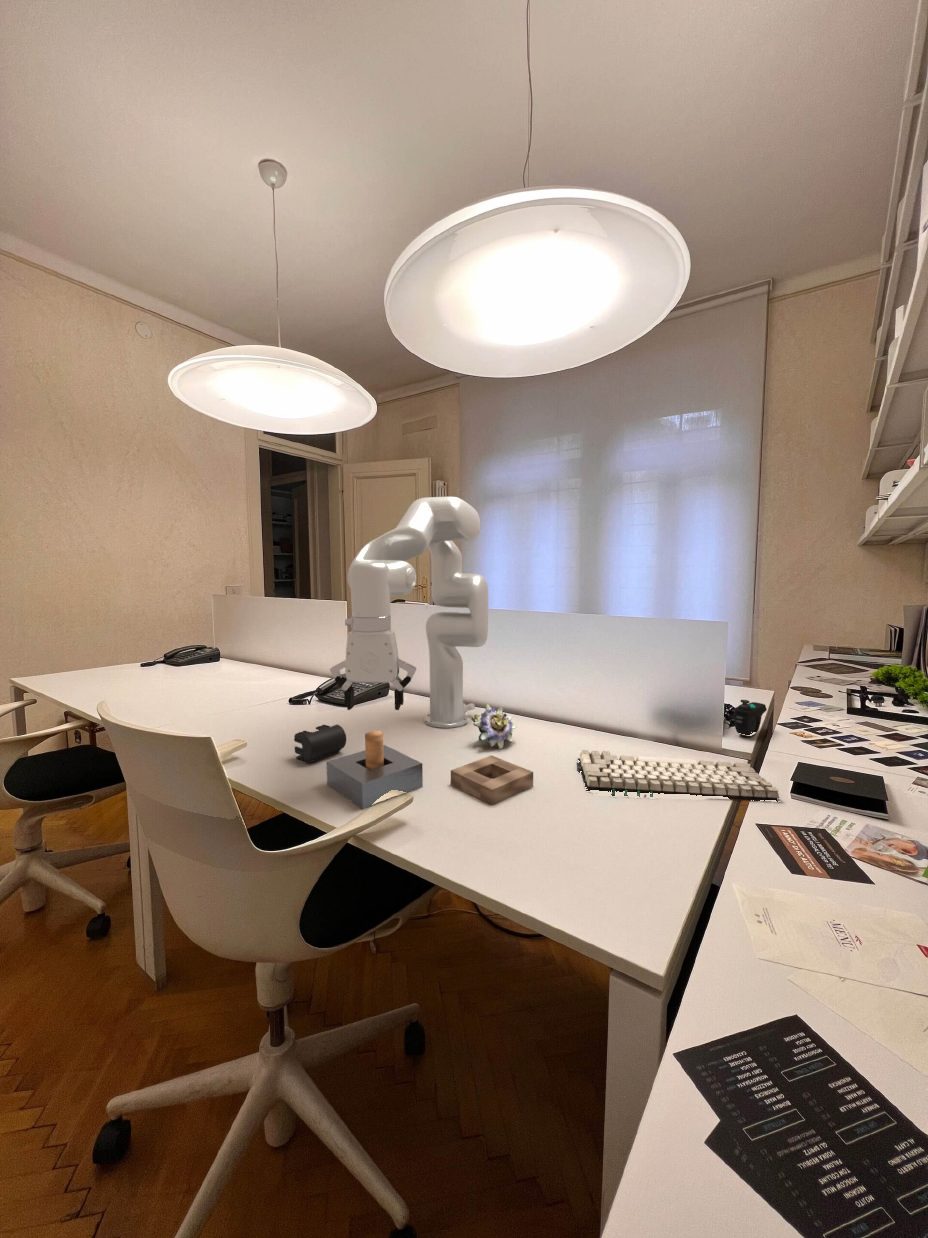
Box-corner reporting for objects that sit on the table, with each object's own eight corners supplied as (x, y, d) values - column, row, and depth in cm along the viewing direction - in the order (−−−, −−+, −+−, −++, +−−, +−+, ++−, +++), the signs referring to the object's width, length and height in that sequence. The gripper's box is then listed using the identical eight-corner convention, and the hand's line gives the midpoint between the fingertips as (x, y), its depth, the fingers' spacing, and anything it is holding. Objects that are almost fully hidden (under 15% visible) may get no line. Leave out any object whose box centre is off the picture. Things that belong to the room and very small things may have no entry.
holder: (491, 768, 112) (491, 755, 111) (533, 786, 103) (533, 772, 102) (450, 784, 104) (450, 770, 103) (492, 805, 95) (492, 789, 94)
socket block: (384, 766, 113) (384, 744, 112) (422, 786, 102) (422, 763, 102) (327, 784, 103) (326, 761, 103) (362, 809, 93) (362, 783, 92)
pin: (377, 780, 105) (376, 729, 104) (387, 786, 103) (386, 734, 101) (363, 785, 103) (361, 733, 102) (372, 791, 100) (371, 738, 99)
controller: (729, 737, 131) (731, 700, 130) (750, 728, 139) (752, 693, 137) (746, 742, 128) (749, 704, 127) (767, 732, 135) (769, 696, 134)
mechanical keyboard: (742, 768, 113) (743, 754, 113) (787, 810, 94) (788, 793, 94) (573, 761, 117) (573, 747, 117) (583, 800, 99) (584, 784, 98)
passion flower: (499, 769, 124) (484, 740, 117) (471, 749, 132) (455, 720, 125) (528, 737, 129) (515, 707, 122) (499, 719, 137) (486, 690, 130)
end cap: (312, 767, 112) (311, 738, 112) (293, 760, 116) (292, 732, 116) (347, 753, 120) (346, 726, 120) (328, 747, 124) (327, 721, 124)
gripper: (322, 627, 96) (326, 713, 98) (412, 627, 95) (414, 714, 97) (334, 622, 103) (337, 702, 106) (417, 621, 102) (419, 702, 105)
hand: (374, 708), depth 102 cm, fingers open, 9 cm apart
